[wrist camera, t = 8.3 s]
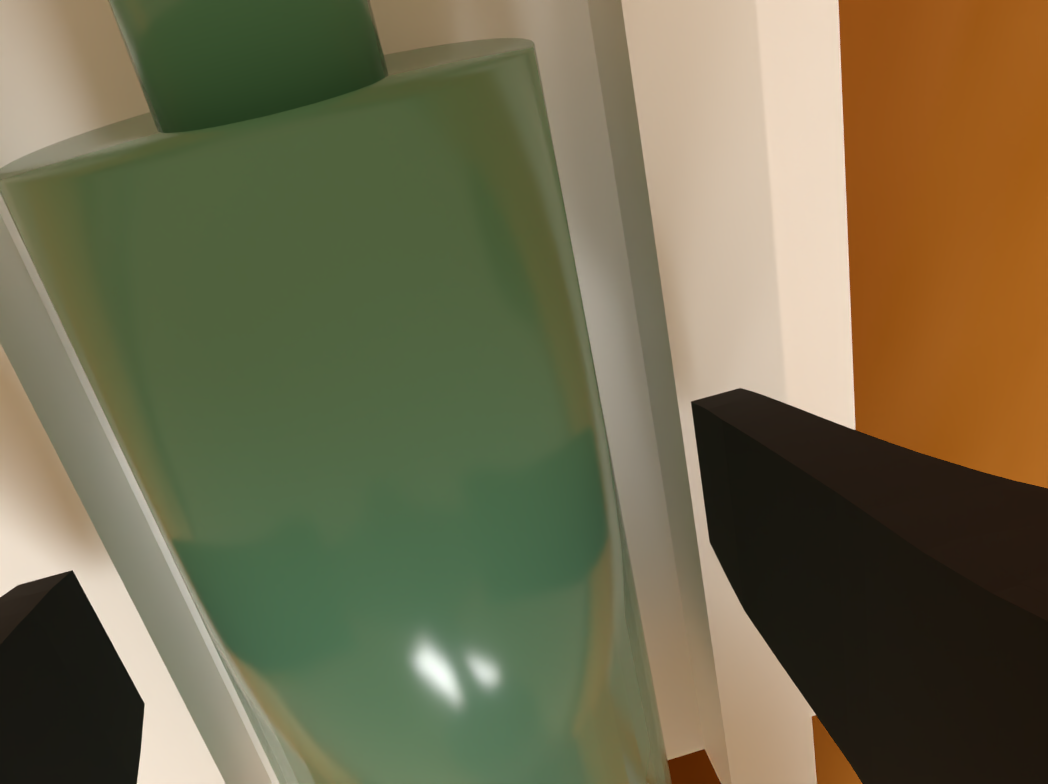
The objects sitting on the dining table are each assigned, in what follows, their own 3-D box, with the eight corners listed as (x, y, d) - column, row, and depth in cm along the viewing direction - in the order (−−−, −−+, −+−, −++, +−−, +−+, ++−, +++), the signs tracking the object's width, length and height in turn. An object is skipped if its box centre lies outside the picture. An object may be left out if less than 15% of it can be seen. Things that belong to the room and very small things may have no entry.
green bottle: (645, 654, 15) (706, 957, 10) (357, 703, 15) (296, 1016, 11) (455, -360, 9) (408, -669, 4) (-15, -241, 9) (-498, -413, 5)
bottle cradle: (839, 663, 18) (910, 761, 16) (145, 873, 17) (114, 1008, 15) (784, -313, 11) (900, -390, 9) (-423, -60, 10) (-654, -72, 7)
